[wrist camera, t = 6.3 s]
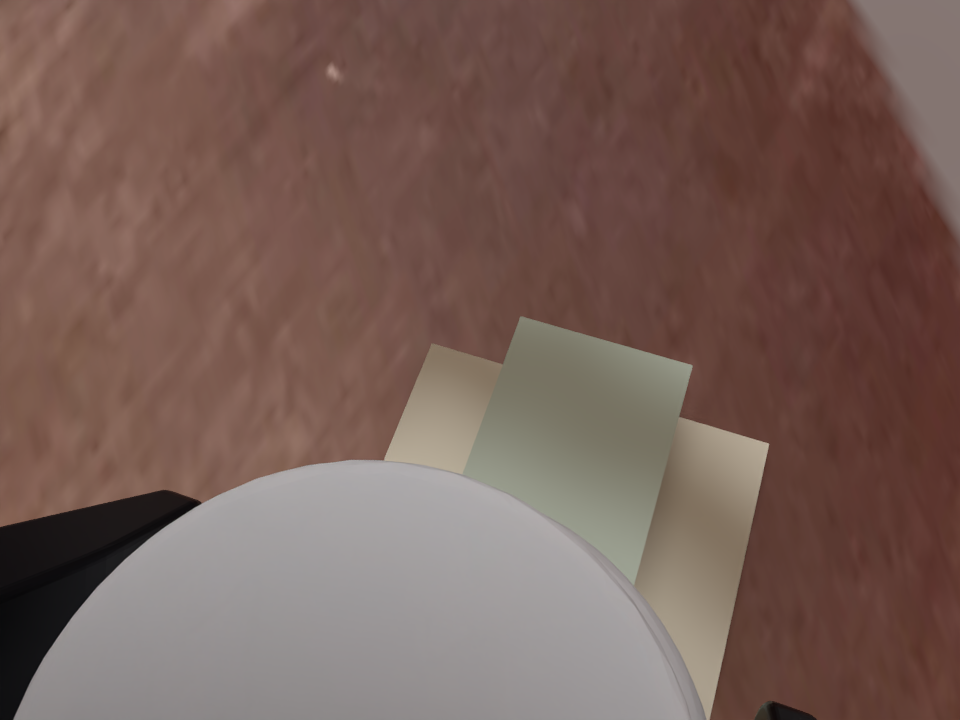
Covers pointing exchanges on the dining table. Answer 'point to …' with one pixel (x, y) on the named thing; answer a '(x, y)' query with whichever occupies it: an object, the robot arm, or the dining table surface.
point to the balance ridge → (602, 467)
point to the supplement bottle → (364, 613)
